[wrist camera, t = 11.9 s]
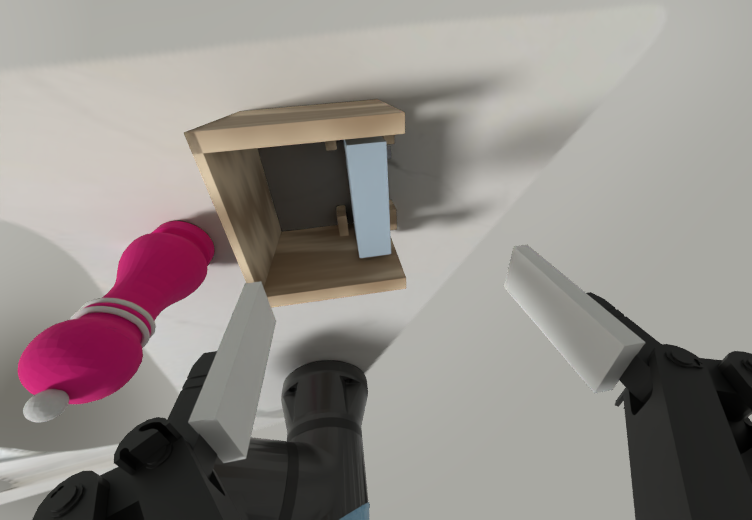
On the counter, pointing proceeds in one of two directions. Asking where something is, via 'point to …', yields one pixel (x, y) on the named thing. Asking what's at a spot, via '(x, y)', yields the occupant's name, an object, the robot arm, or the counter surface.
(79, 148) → the counter surface
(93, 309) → the pepper mill
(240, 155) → the cabinet
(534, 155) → the counter surface
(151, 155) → the counter surface
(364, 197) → the door
